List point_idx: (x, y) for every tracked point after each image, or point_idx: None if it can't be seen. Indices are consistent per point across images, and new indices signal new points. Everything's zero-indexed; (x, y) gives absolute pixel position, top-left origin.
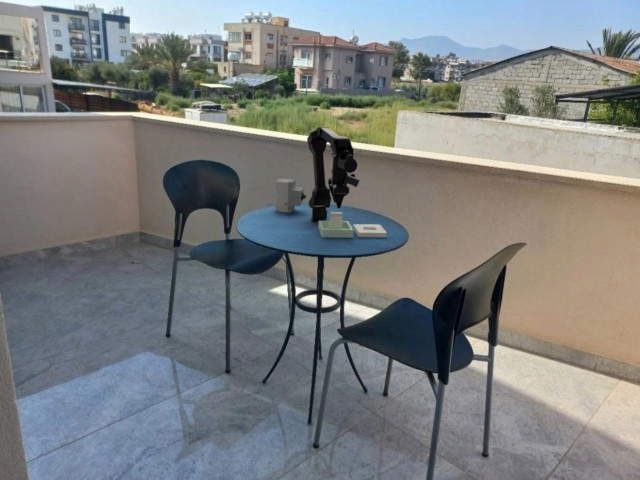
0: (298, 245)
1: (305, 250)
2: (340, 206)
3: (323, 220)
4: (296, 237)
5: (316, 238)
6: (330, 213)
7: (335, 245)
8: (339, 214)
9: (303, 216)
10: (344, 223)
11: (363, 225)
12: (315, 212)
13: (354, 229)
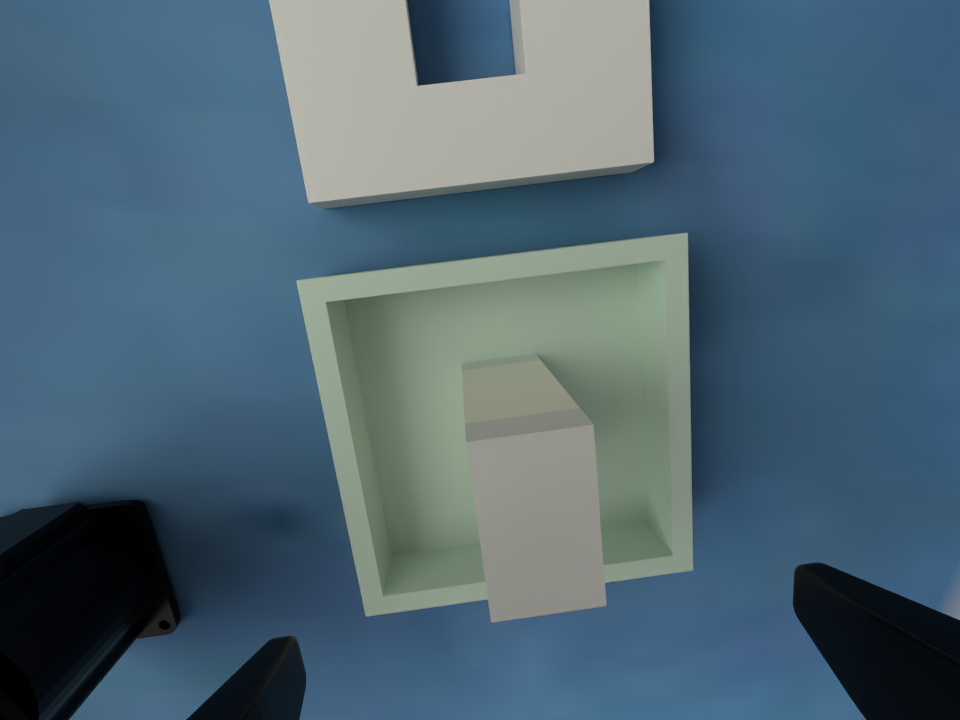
0: None
1: None
2: (868, 588)
3: (136, 531)
4: (665, 703)
5: None
6: (551, 604)
7: (865, 412)
8: (593, 472)
9: None
10: (337, 323)
11: (335, 62)
12: (81, 683)
13: (396, 198)
